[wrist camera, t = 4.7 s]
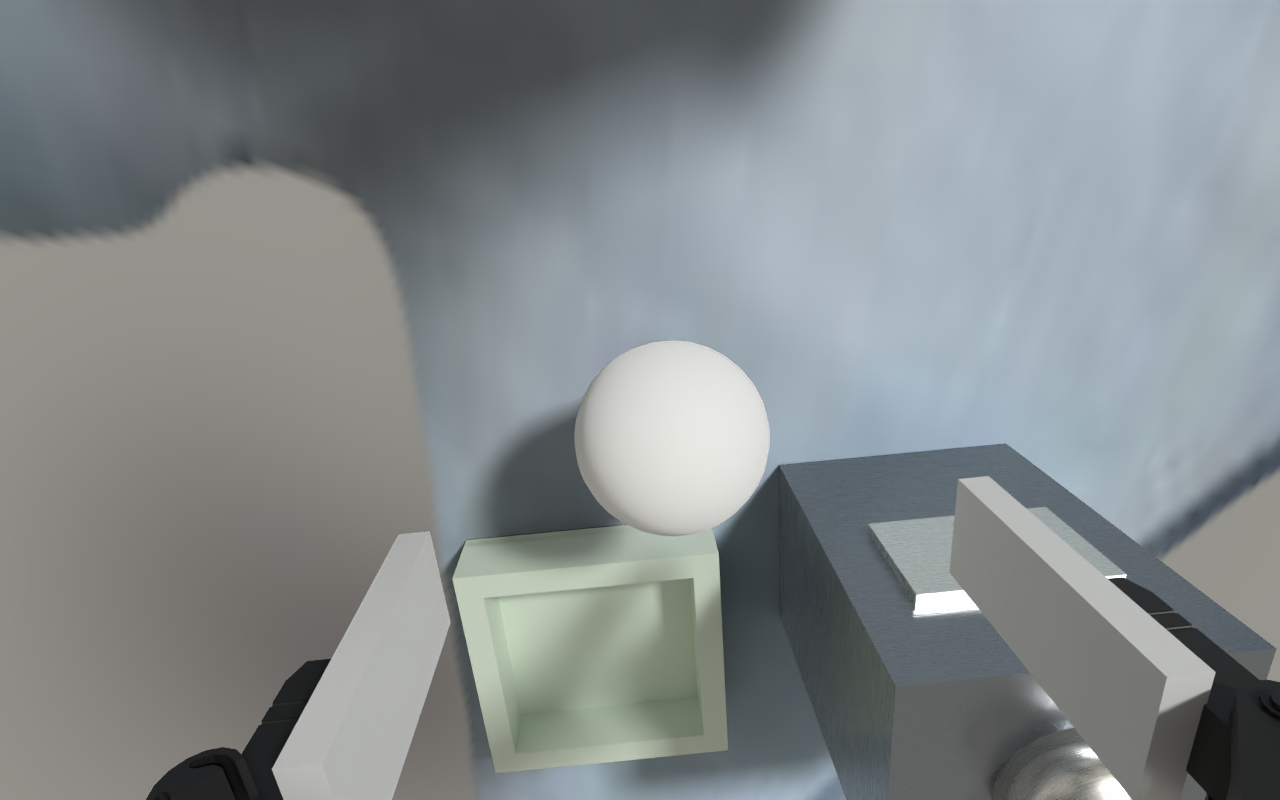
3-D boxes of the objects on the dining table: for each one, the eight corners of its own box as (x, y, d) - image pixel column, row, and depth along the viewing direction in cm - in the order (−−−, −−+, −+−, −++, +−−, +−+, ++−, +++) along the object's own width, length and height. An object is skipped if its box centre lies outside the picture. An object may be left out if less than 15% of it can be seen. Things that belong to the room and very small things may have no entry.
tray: (466, 540, 33) (452, 578, 30) (708, 517, 33) (718, 553, 30) (504, 724, 37) (495, 773, 34) (718, 703, 37) (728, 750, 34)
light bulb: (693, 453, 32) (733, 602, 21) (561, 405, 31) (537, 539, 20) (754, 327, 30) (832, 425, 19) (615, 270, 28) (619, 342, 18)
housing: (779, 457, 32) (928, 733, 17) (1006, 436, 32) (1353, 691, 17) (780, 617, 35) (905, 963, 20) (986, 597, 35) (1260, 927, 21)
